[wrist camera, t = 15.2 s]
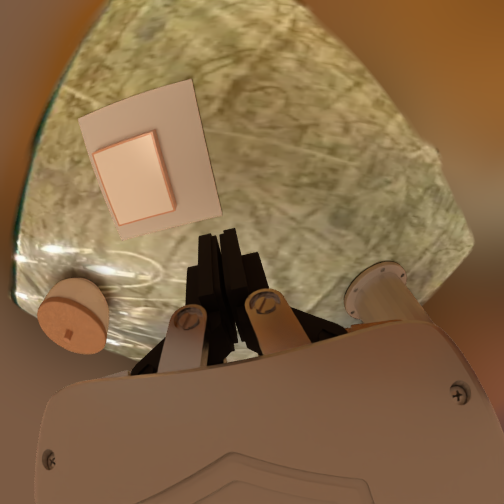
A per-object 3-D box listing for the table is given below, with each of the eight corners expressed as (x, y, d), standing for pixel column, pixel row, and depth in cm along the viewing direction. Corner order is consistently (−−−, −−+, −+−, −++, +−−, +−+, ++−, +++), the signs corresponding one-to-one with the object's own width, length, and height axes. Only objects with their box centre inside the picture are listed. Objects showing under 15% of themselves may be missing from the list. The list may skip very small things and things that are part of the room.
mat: (222, 213, 32) (222, 215, 32) (122, 238, 32) (122, 240, 31) (191, 79, 23) (191, 78, 22) (79, 118, 22) (77, 118, 22)
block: (175, 211, 28) (118, 226, 28) (177, 204, 30) (122, 219, 30) (152, 131, 23) (91, 153, 23) (155, 129, 25) (97, 149, 24)
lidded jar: (64, 251, 31) (37, 297, 23) (126, 287, 36) (113, 338, 28) (50, 297, 35) (30, 340, 27) (104, 326, 40) (92, 372, 32)
